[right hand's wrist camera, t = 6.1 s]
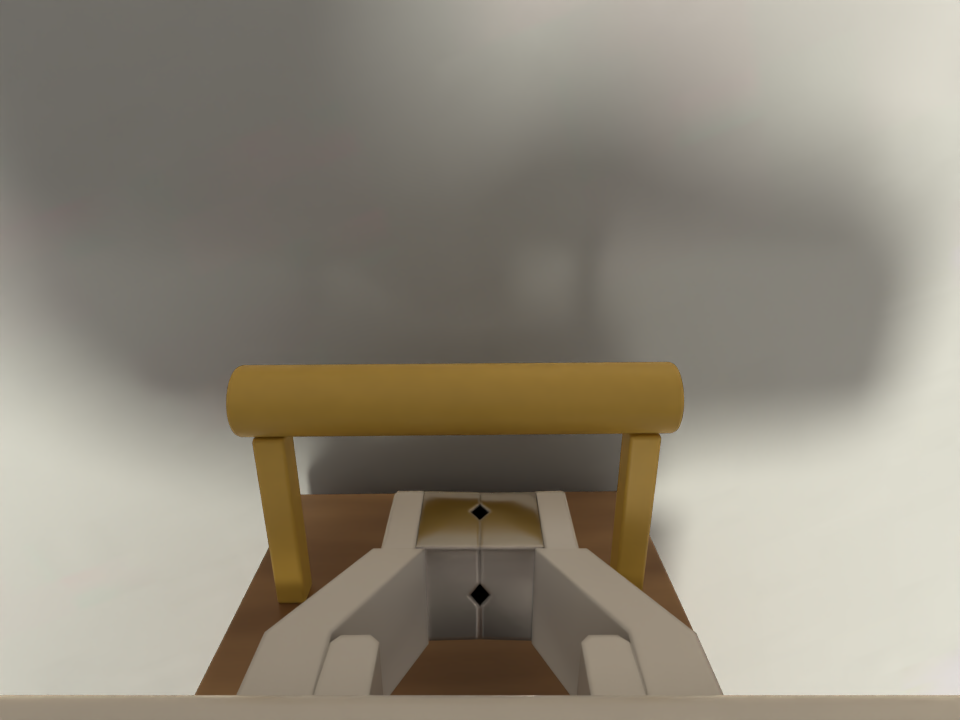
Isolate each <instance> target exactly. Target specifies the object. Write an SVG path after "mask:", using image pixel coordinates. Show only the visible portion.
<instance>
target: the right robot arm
mask: <svg viewBox="0 0 960 720" xmlns="http://www.w3.org/2000/svg"><path fill="white" fill-rule="evenodd" d="M474 639H485V640H520V641H532V645H533V646H534V647H535V649H536V650H537V651H538V653H539V654H540V655H541V657H542V658H543V659H544V661H545V662H546V663H547V665H548V666H549V667H550V669H551V670H552V671H553V673H554V674H555V675H556V677H557V678H558V679H559V681H560V682H561V683H562V685H563V686H564V687H565V689H566V690H567V691H568V693H569V694H570V695H391V693H392V692H393V691H394V689H395V688H396V687H397V685H398V684H399V683H400V681H401V680H402V679H403V677H404V676H405V675H406V673H407V672H408V671H409V669H410V668H411V667H412V665H413V664H414V663H415V661H416V660H417V659H418V657H419V656H420V655H421V653H422V652H423V651H424V649H425V648H426V647H427V645H428V644H429V643H428V641H439V640H474ZM0 720H960V695H723V692H722V690H721V688H720V686H719V683H718V681H717V679H716V677H715V674H714V672H713V670H712V668H711V665H710V663H709V661H708V659H707V656H706V654H705V652H704V650H703V647H702V645H701V643H700V641H699V638H698V636H697V634H696V633H695V632H694V631H693V630H691V629H690V628H689V627H688V626H686V625H685V624H684V623H682V622H681V621H680V620H679V619H677V618H676V617H675V616H673V615H672V614H671V613H670V612H668V611H667V610H666V609H664V608H663V607H662V606H661V605H659V604H658V603H657V602H655V601H654V600H653V599H652V598H650V597H649V596H648V595H646V594H645V593H644V592H643V591H641V590H640V589H639V588H637V587H636V586H635V585H634V584H632V583H631V582H630V581H628V580H627V579H626V578H625V577H623V576H622V575H621V574H619V573H618V572H617V571H615V570H614V569H613V568H612V567H610V566H609V565H608V564H606V563H605V562H604V561H603V560H601V559H600V558H599V557H597V556H596V555H595V554H594V553H592V552H591V551H590V550H588V549H587V548H579V547H578V543H577V539H576V535H575V531H574V527H573V523H572V519H571V515H570V511H569V507H568V503H567V499H566V495H565V493H564V492H563V491H536V492H506V493H480V492H445V491H426V492H424V491H397V492H396V494H395V495H394V499H393V503H392V507H391V511H390V515H389V519H388V523H387V527H386V531H385V535H384V539H383V543H382V547H381V548H373V549H372V550H370V551H369V552H368V553H366V554H365V555H364V556H363V557H361V558H360V559H359V560H357V561H356V562H355V563H353V564H352V565H351V566H350V567H348V568H347V569H346V570H344V571H343V572H342V573H341V574H339V575H338V576H337V577H335V578H334V579H333V580H331V581H330V582H329V583H328V584H326V585H325V586H324V587H322V588H321V589H320V590H319V591H317V592H316V593H315V594H313V595H312V596H311V597H309V598H308V599H307V600H306V601H304V602H303V603H302V604H300V605H299V606H298V607H297V608H295V609H294V610H293V611H291V612H290V613H289V614H288V615H286V616H285V617H284V618H282V619H281V620H280V621H278V622H277V623H276V624H275V625H273V626H272V627H271V628H269V629H268V630H267V631H266V632H264V635H263V637H262V639H261V641H260V643H259V646H258V648H257V650H256V652H255V655H254V657H253V659H252V661H251V663H250V666H249V668H248V670H247V672H246V675H245V677H244V679H243V681H242V683H241V686H240V688H239V690H238V692H237V695H0Z"/></svg>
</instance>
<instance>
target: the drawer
mask: <svg viewBox="0 0 960 720" xmlns="http://www.w3.org/2000/svg"><path fill="white" fill-rule="evenodd" d="M226 410H227V417H228V422H229V425H230V427H231V429H232V431H233V433H234V434H235V435H237V436H239V437H255V438H254V439H253V441H252V444H253V450H254V456H255V463H256V469H257V475H258V481H259V488H260V494H261V500H262V506H263V512H264V519H265V525H266V531H267V537H268V544H269V548H268V550H267V552H266V554H265V556H264V558H263V560H262V562H261V564H260V566H259V568H258V570H257V572H256V574H255V576H254V578H253V580H252V582H251V584H250V586H249V588H248V590H247V592H246V594H245V596H244V598H243V600H242V602H241V604H240V606H239V608H238V610H237V612H236V614H235V616H234V618H233V620H232V622H231V624H230V626H229V628H228V630H227V632H226V634H225V636H224V638H223V640H222V642H221V644H220V646H219V648H218V650H217V652H216V654H215V656H214V658H213V660H212V662H211V664H210V666H209V668H208V669H207V671H206V673H205V675H204V677H203V679H202V681H201V683H200V685H199V687H198V689H197V691H196V693H195V695H237V692H238V690H239V688H240V686H241V683H242V681H243V679H244V677H245V675H246V672H247V670H248V668H249V666H250V663H251V661H252V659H253V657H254V655H255V652H256V650H257V648H258V646H259V643H260V641H261V639H262V637H263V635H264V632H266V631H267V630H268V629H269V628H271V627H272V626H273V625H275V624H276V623H277V622H278V621H280V620H281V619H282V618H284V617H285V616H286V615H288V614H289V613H290V612H291V611H293V610H294V609H295V608H297V607H298V606H299V605H300V604H302V603H303V602H304V601H306V600H307V599H308V598H309V597H311V596H312V595H313V594H315V593H316V592H317V591H319V590H320V589H321V588H322V587H324V586H325V585H326V584H328V583H329V582H330V581H331V580H333V579H334V578H335V577H337V576H338V575H339V574H341V573H342V572H343V571H344V570H346V569H347V568H348V567H350V566H351V565H352V564H353V563H355V562H356V561H357V560H359V559H360V558H361V557H363V556H364V555H365V554H366V553H368V552H369V551H370V550H372V549H373V548H381V547H382V543H383V539H384V535H385V531H386V527H387V523H388V519H389V515H390V511H391V507H392V503H393V499H394V495H395V494H311V495H300V488H299V480H298V473H297V465H296V457H295V450H294V442H293V437H307V436H415V435H523V434H622V444H621V455H620V465H619V475H618V486H617V491H593V492H564V493H565V495H566V499H567V503H568V507H569V511H570V515H571V519H572V523H573V527H574V531H575V535H576V539H577V543H578V547H579V548H587V549H588V550H590V551H591V552H592V553H594V554H595V555H596V556H597V557H599V558H600V559H601V560H603V561H604V562H605V563H606V564H608V565H609V566H610V567H612V568H613V569H614V570H615V571H617V572H618V573H619V574H621V575H622V576H623V577H625V578H626V579H627V580H628V581H630V582H631V583H632V584H634V585H635V586H636V587H637V588H639V589H640V590H641V591H643V592H644V593H645V594H646V595H648V596H649V597H650V598H652V599H653V600H654V601H655V602H657V603H658V604H659V605H661V606H662V607H663V608H664V609H666V610H667V611H668V612H670V613H671V614H672V615H673V616H675V617H676V618H677V619H679V620H680V621H681V622H682V623H684V624H685V625H686V626H688V627H689V628H690V629H691V630H693V629H692V627H691V625H690V622H689V620H688V618H687V616H686V614H685V611H684V609H683V607H682V605H681V603H680V601H679V598H678V596H677V594H676V592H675V590H674V588H673V585H672V583H671V581H670V579H669V577H668V574H667V572H666V570H665V568H664V566H663V564H662V561H661V559H660V557H659V555H658V553H657V550H656V548H655V546H654V544H653V542H652V540H651V537H650V535H649V533H650V525H651V517H652V508H653V500H654V492H655V484H656V476H657V468H658V460H659V451H660V443H661V437H660V435H659V433H673V432H675V431H676V430H677V429H678V428H679V426H680V424H681V421H682V417H683V410H684V390H683V383H682V379H681V375H680V373H679V370H678V368H677V367H676V366H675V365H674V364H673V363H671V362H594V363H462V364H330V365H242V366H239V367H237V368H236V369H235V370H234V372H233V373H232V375H231V377H230V380H229V384H228V388H227V396H226ZM499 493H506V492H499ZM428 643H429V644H428V645H427V647H426V648H425V649H424V651H423V652H422V653H421V655H420V656H419V657H418V659H417V660H416V661H415V663H414V664H413V665H412V667H411V668H410V669H409V671H408V672H407V673H406V675H405V676H404V677H403V679H402V680H401V681H400V683H399V684H398V685H397V687H396V688H395V689H394V691H393V692H392V693H391V695H570V694H569V693H568V691H567V690H566V689H565V687H564V686H563V685H562V683H561V682H560V681H559V679H558V678H557V677H556V675H555V674H554V673H553V671H552V670H551V669H550V667H549V666H548V665H547V663H546V662H545V661H544V659H543V658H542V657H541V655H540V654H539V653H538V651H537V650H536V649H535V647H534V646H533V645H532V641H520V640H485V639H474V640H439V641H428Z"/></svg>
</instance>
